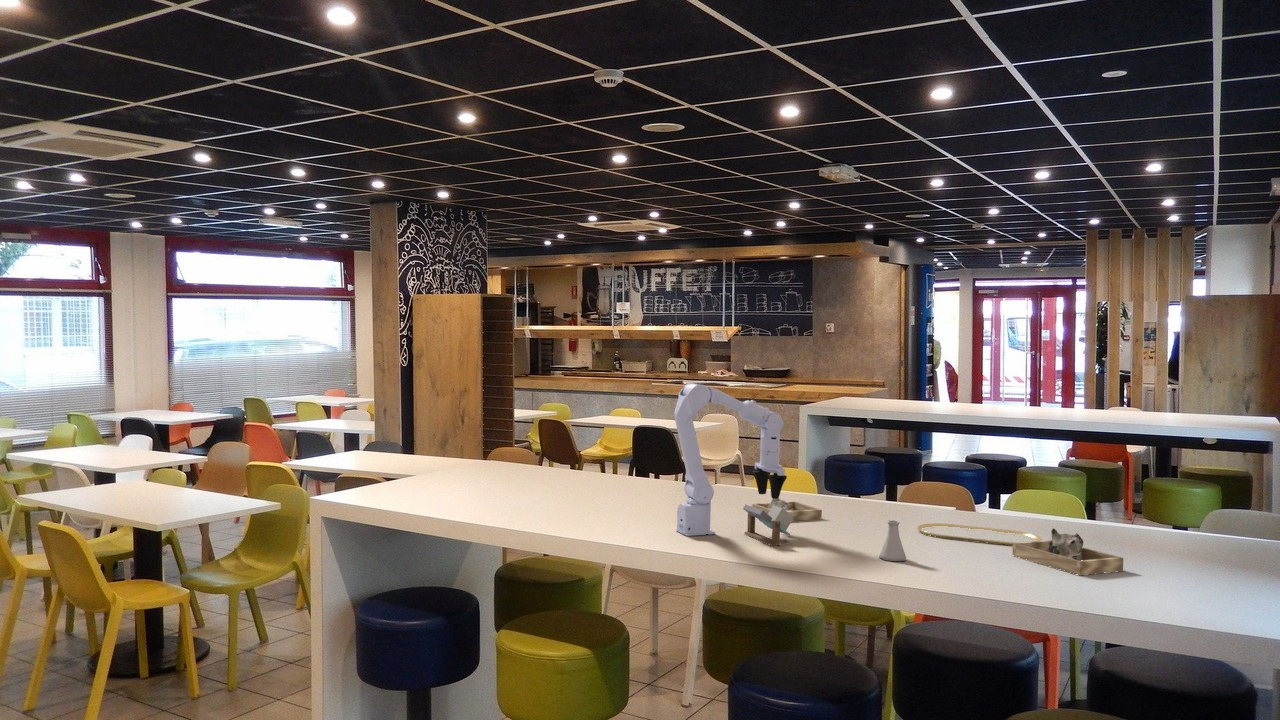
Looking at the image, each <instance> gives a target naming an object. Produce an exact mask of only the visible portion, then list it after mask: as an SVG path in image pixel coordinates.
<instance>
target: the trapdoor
mask: <svg viewBox="0 0 1280 720" xmlns="http://www.w3.org/2000/svg"><path fill="white" fill-rule="evenodd" d="M742 510H744V511H745V512H746V513H747V514H748V513H749V514H750V515H751V516H753V517H755V519H758V521H759V522H761V523H762V524H763V525H764V526H766V527H767V528H768V529H772V517H770V516H769V515H768V514H767V513H765V512H764V511H763V510H760V509H757V508H755V507H752V506H751V505H749V504H746V503H745V504H744V506H743V507H742ZM780 534H784V535H787V536H790V535H791V533H790V532H788V531H787V530H784V529H783V528H782V527H781V526H780Z"/></svg>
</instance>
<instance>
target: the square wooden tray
mask: <svg viewBox="0 0 1280 720" xmlns="http://www.w3.org/2000/svg"><path fill="white" fill-rule="evenodd" d="M786 502H787V503H789V504H790V505H791V507H792V509H793V511H786V512H787V513H789V514H790V515H791V516H792V517H794V519H793V520H792V522H794V521H795V520H798V521H811V519H814V520H822V515H823V513H822V512H823V510H822V509H821V508H817V507H815V506H810V505H808V504H804V503H801V502H799V501H786ZM770 503H771V502H760V503H759V502H758V503H757V502H756V503H751V505H750V506H752V507H755V508H757V509H760V510H763V511H764V512H765V513H767V514H768V512H769V511H770V509H768V506H769V504H770ZM795 522H796V521H795Z"/></svg>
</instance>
